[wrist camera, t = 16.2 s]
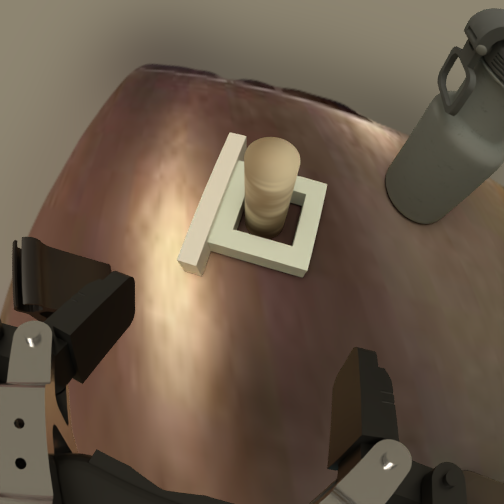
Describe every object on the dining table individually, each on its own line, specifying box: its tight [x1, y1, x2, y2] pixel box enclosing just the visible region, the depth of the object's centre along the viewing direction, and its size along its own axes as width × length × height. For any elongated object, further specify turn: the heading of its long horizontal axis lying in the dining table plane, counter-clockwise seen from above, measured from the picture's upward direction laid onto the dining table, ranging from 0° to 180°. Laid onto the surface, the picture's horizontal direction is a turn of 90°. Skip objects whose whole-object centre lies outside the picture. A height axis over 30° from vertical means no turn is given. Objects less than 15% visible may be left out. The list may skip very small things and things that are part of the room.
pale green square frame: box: [208, 161, 327, 278], centre depth 33 cm, size 10×10×3 cm
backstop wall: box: [177, 133, 246, 276], centre depth 33 cm, size 2×16×4 cm, turn 163°
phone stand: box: [12, 237, 111, 322], centre depth 26 cm, size 9×6×12 cm, turn 105°
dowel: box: [244, 137, 300, 239], centre depth 29 cm, size 4×4×12 cm
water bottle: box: [386, 9, 504, 224], centre depth 24 cm, size 10×10×28 cm
